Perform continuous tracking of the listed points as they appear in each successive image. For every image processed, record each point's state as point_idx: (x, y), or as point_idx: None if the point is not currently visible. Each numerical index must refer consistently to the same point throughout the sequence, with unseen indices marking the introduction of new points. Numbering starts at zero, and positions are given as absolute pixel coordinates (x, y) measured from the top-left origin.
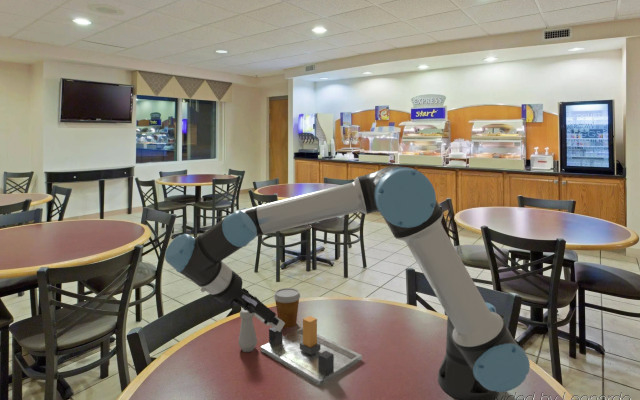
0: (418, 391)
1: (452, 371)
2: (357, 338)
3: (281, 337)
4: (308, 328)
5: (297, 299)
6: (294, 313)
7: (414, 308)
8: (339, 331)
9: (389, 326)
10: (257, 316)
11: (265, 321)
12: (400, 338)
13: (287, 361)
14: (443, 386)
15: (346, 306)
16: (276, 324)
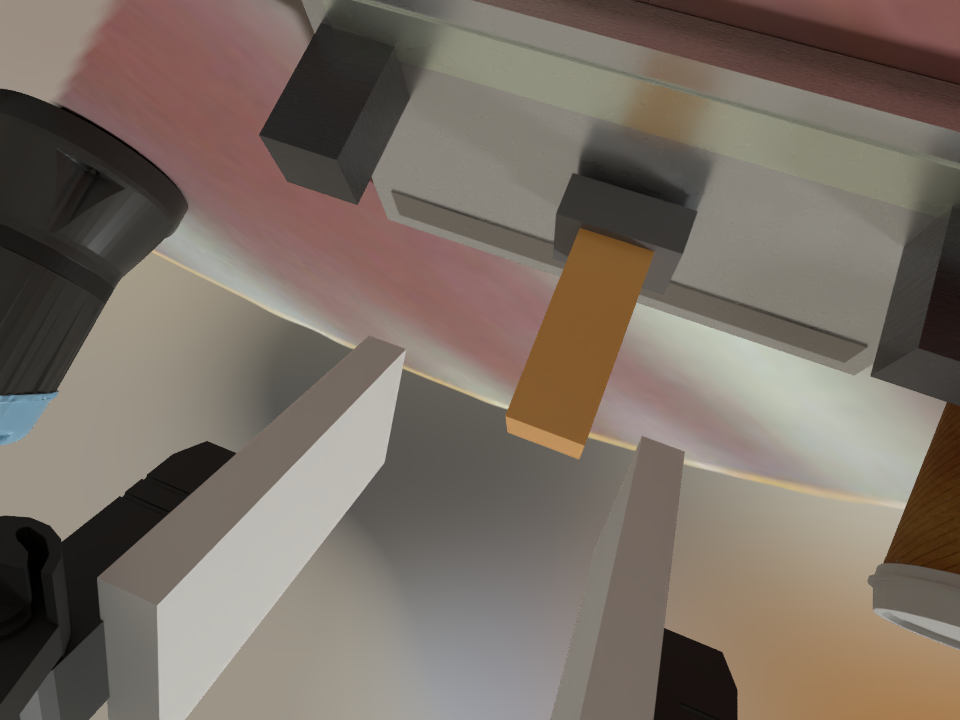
0: (94, 85)
1: (14, 184)
2: (546, 308)
3: (895, 297)
4: (541, 366)
5: (877, 571)
6: (924, 474)
7: None
8: (656, 343)
9: (513, 358)
10: (574, 705)
11: (6, 593)
12: (427, 311)
13: (685, 65)
14: (72, 129)
15: (754, 454)
16: (182, 461)
